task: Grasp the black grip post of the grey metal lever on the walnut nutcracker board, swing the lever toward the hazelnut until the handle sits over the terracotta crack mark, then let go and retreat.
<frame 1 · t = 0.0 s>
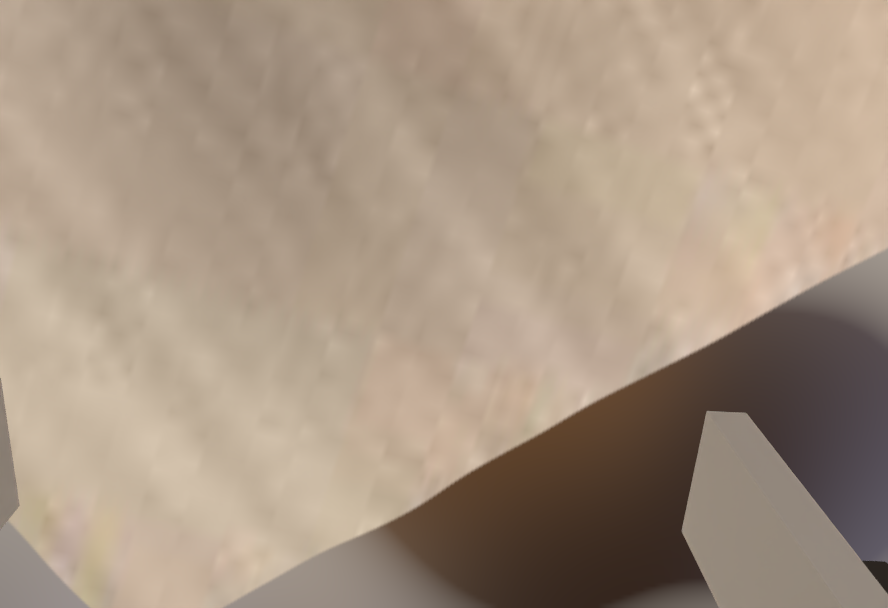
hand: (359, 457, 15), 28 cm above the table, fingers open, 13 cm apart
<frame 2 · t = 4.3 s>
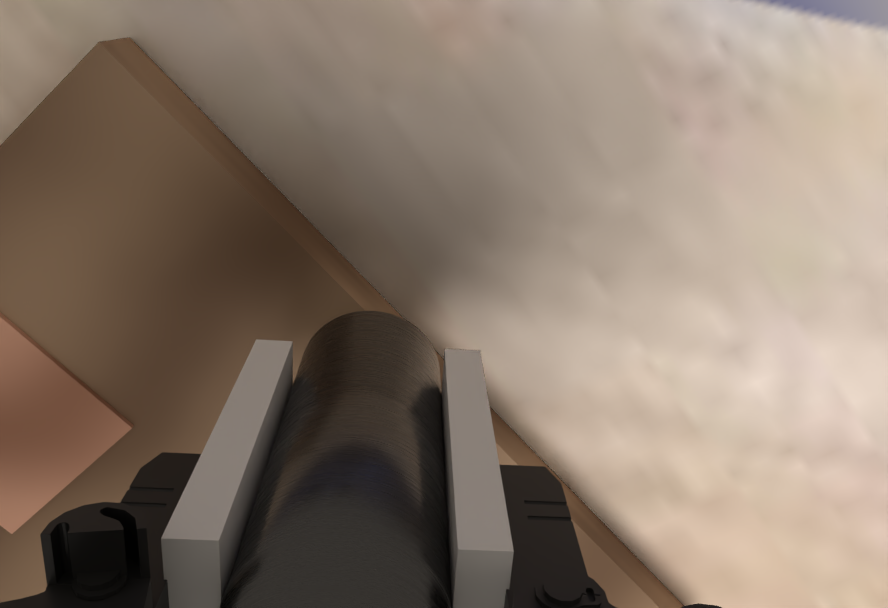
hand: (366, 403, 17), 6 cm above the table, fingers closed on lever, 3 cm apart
nutcracker board: (212, 558, 25), on the table
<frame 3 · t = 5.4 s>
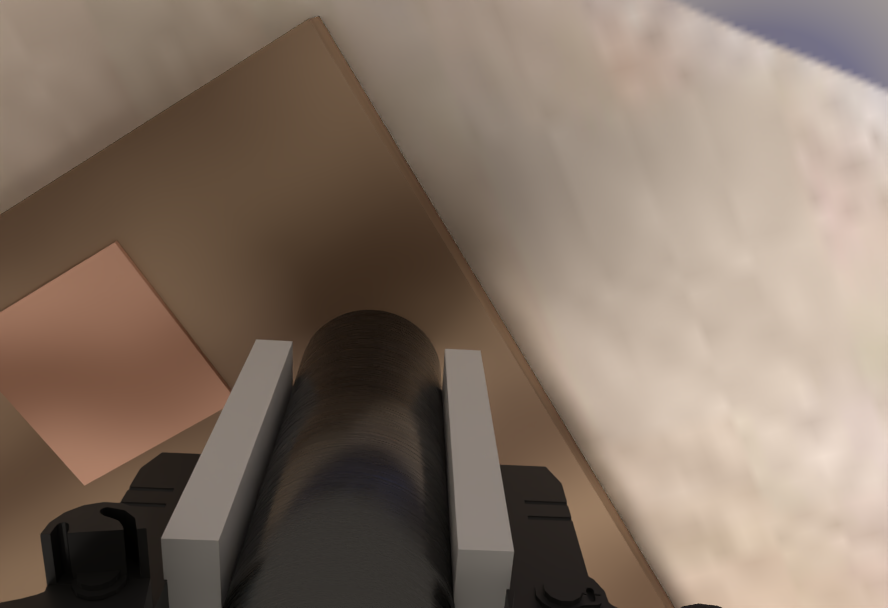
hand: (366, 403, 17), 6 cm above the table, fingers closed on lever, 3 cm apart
nutcracker board: (262, 539, 25), on the table
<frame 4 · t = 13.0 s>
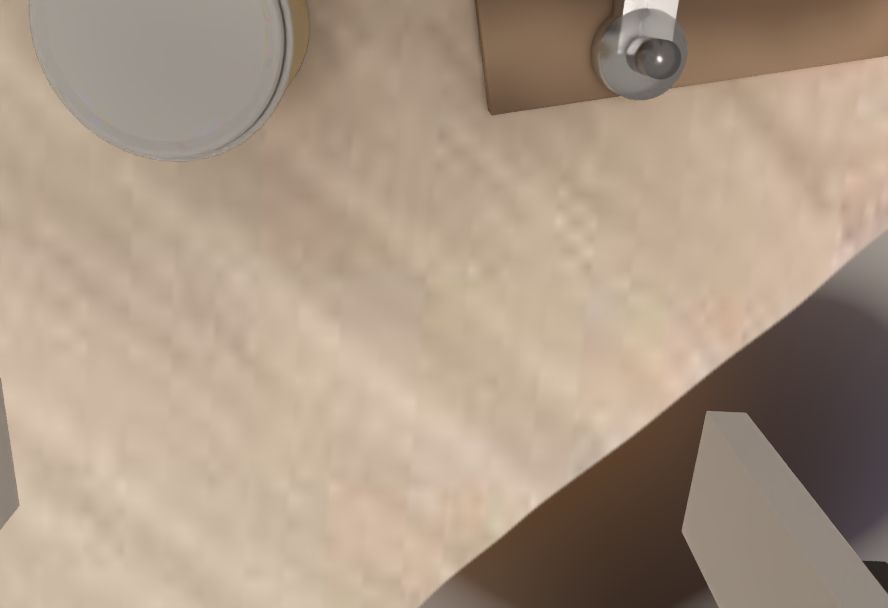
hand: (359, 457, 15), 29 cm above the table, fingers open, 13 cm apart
coffee cup: (232, 22, 39), on the table
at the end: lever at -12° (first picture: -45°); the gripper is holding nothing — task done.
